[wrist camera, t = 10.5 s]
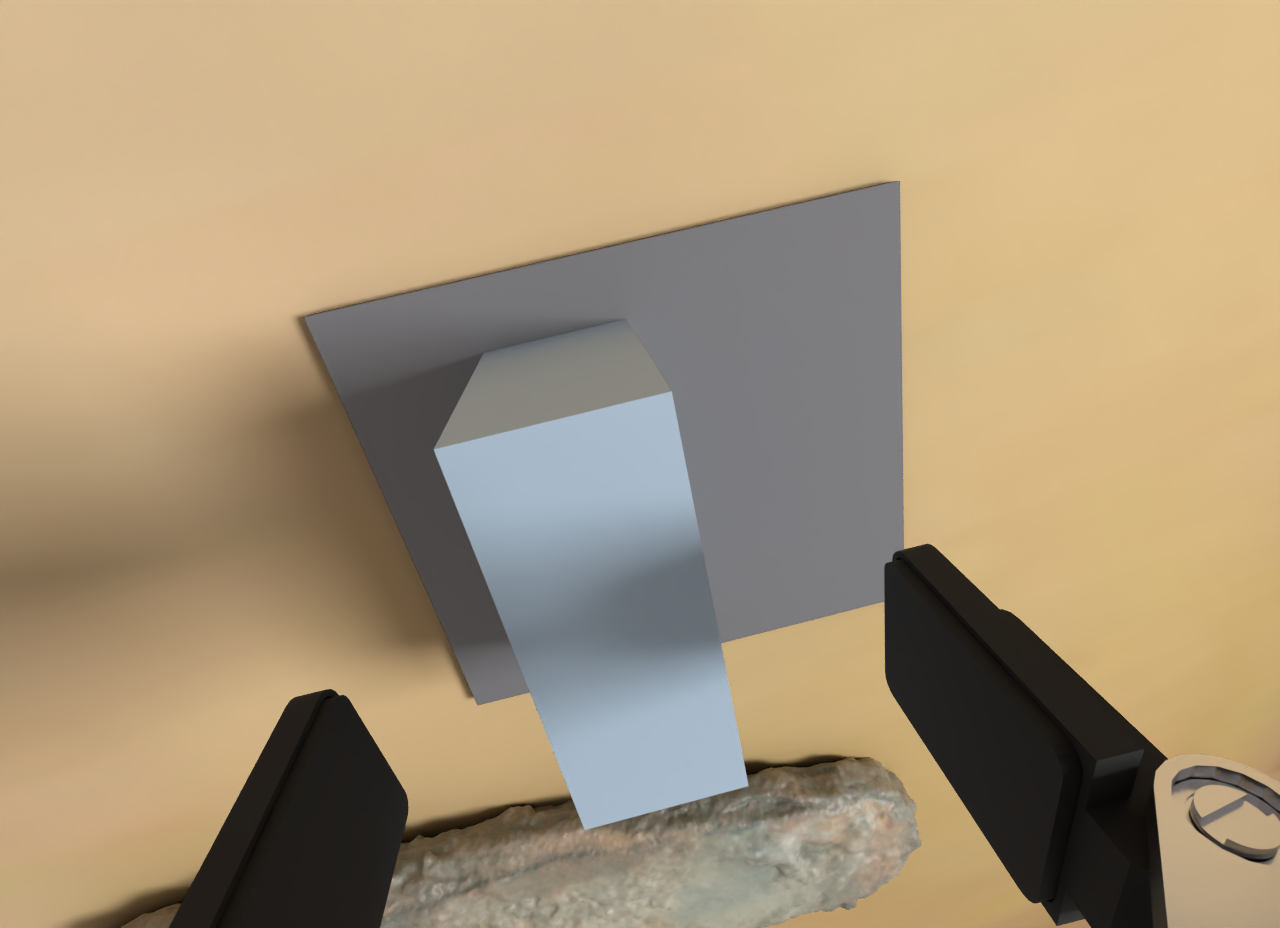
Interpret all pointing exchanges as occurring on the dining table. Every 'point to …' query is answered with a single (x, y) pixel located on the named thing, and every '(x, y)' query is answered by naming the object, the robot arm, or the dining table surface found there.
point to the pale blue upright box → (597, 567)
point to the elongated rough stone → (662, 859)
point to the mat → (703, 397)
